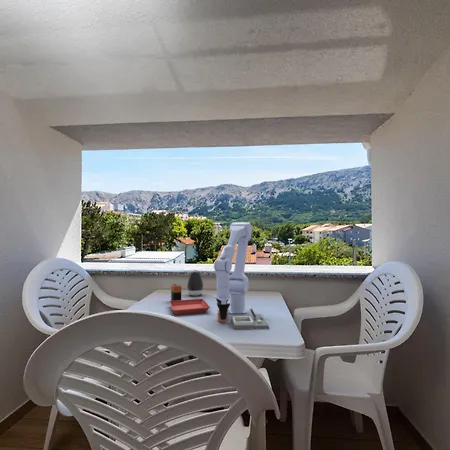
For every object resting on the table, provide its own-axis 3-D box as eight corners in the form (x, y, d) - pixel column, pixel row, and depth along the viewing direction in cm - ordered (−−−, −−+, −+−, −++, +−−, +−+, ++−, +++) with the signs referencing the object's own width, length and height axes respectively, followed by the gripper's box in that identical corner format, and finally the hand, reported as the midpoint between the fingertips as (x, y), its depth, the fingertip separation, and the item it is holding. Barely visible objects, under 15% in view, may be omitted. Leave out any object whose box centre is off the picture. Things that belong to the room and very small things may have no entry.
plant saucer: (172, 316, 135) (172, 309, 135) (169, 306, 152) (169, 300, 152) (210, 314, 140) (210, 307, 140) (203, 304, 157) (203, 298, 157)
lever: (253, 318, 128) (248, 306, 128) (256, 316, 128) (250, 305, 128) (254, 320, 126) (249, 308, 126) (257, 318, 126) (251, 307, 126)
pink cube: (217, 318, 131) (217, 309, 131) (227, 318, 132) (227, 309, 132) (218, 322, 127) (218, 312, 127) (228, 321, 127) (228, 312, 127)
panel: (230, 317, 133) (230, 311, 133) (261, 316, 134) (261, 311, 134) (234, 329, 117) (234, 323, 117) (268, 328, 118) (268, 322, 118)
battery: (178, 299, 166) (178, 282, 167) (181, 302, 160) (181, 284, 160) (171, 300, 165) (171, 282, 165) (173, 303, 158) (173, 284, 159)
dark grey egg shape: (204, 293, 184) (204, 269, 184) (201, 296, 173) (202, 271, 174) (188, 292, 185) (189, 268, 185) (185, 296, 174) (185, 271, 175)
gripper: (213, 283, 136) (213, 312, 136) (214, 289, 122) (214, 321, 122) (228, 283, 137) (228, 312, 137) (231, 289, 122) (231, 321, 122)
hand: (222, 316), depth 129 cm, fingers open, 7 cm apart
